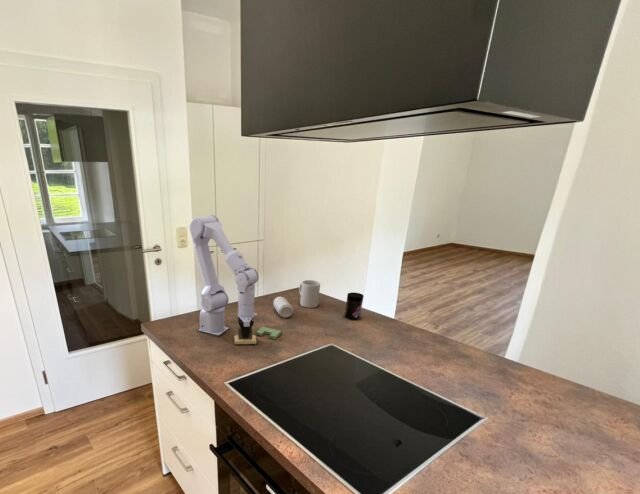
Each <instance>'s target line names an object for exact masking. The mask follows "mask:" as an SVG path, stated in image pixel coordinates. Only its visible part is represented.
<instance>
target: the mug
mask: <svg viewBox="0 0 640 494" xmlns="http://www.w3.org/2000/svg"><path fill="white" fill-rule="evenodd" d="M320 289H321V282H319V281H317V280H311V279H309V280H308V279H306V280H302V282H301V283H300V284H299V287H298V292H299V293H298V294H299V295H300V300H299V304H300V306H301V307H303V308H309V309H313V308H317V307H318V306H319V301H320V299H319V298H320V291H321V290H320Z"/></svg>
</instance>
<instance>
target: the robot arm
mask: <svg viewBox="0 0 640 494" xmlns="http://www.w3.org/2000/svg"><path fill="white" fill-rule="evenodd" d="M188 228H189V231H190V236H191V241H192V245H193V249H194V253H195V257H196V260H197V264H198V268H199V272H200V276H201V279H202V282H203V290H202V291H201V293H200V299H201V306H202V308H201V310H200V311H199V329H198V331H199V332H203V333H207V334H209V335H213V336H218V337H219V336H221V335H222V334H224V333H225V332H226V331H228V330H229V329H230V328H229V327H228V326H226V325H225V309H226V306H227V305H228V304H229V302H230V301H229V295H228V293H227V292H226V290H225V287H224V286H222V285H221V284H219V281H218V277H217V273H216V269H215V266H214V262H213V258H212V254H211V250H210V246H209V243H210V241H211V240H213V241H214V243H215V244H216V245H217V246H218V247H219V249H220V250H221V252H222V253H223V254H224V255H225V262H226V264H227V265H228V267H229V268H230V270H231V271H232V273H233V274H234V276H235V277H234V281H235V283H236V286H237V291H238V292H237V293H238V294H237V295H238V297H237V299H238V301H237V319H238V320H237V323H238V326H239V328H241V332H242V337H243V338H248V337H249V334H250V330H251V328H253V325H254V324H255V321H254V318H255V317H257V316H258V312H255V292H256V283H258V280H259V273H258V271H257V269H256V268H254V267H252V266H251V265H249V264H248V262H247V261H246V260H245V258H244V256H243V254H242V253H241V252H240V251H238V250H235V249H234V248H233V246H232V244H231V242H230V241H229V239H228V237H227V235H226V234H225V232H224V230H223V223H222V222H221V221H220V219H219V217H217V216H216V215H214V214H211V215H207V216H200V217H198V216H196V217H193V218H192V219H191V220H190V223H189V225H188Z"/></svg>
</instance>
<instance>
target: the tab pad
mask: <svg viewBox="0 0 640 494" xmlns="http://www.w3.org/2000/svg"><path fill="white" fill-rule="evenodd" d="M256 337H257V335H255V334H253V327H251V330H250V334H249V337H248V338H243V337H242V332H241V327H238V334H237V335H234V339H233V341H234V345H257V338H256Z"/></svg>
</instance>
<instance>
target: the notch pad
mask: <svg viewBox="0 0 640 494" xmlns="http://www.w3.org/2000/svg"><path fill="white" fill-rule="evenodd" d="M255 334H256V335H255V336H258V337H259V336H260V337H263V336H264V335H268V336H269V339H271V340H276V339H277V338H279V336H280V335H281V334H282V330H279V329H274V328H270V327H266V326H261V328H260V329H258V330H257V331H256V333H255Z"/></svg>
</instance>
